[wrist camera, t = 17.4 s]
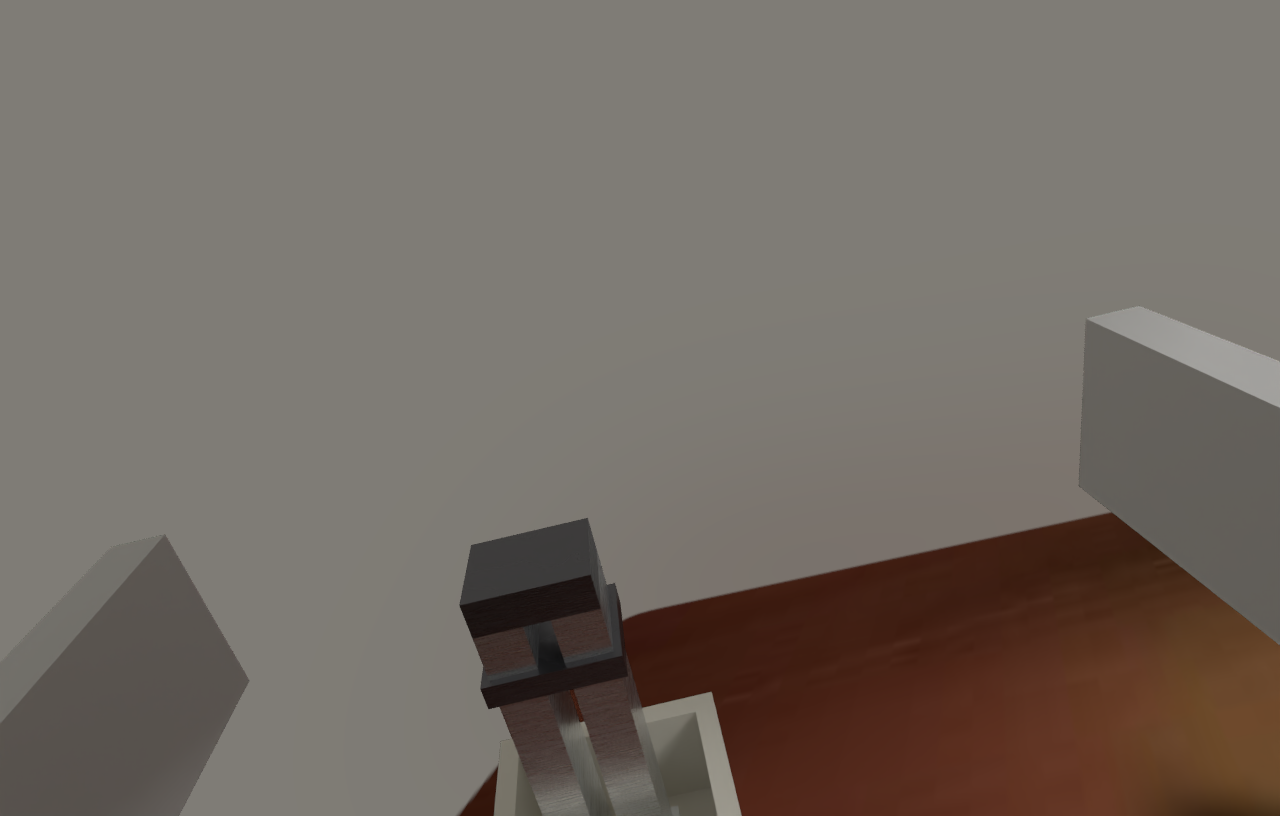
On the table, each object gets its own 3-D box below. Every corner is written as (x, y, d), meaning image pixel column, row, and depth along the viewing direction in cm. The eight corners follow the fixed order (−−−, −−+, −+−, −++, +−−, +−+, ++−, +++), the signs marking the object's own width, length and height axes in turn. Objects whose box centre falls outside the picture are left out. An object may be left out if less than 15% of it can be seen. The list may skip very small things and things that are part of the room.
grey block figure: (685, 831, 37) (594, 508, 29) (701, 932, 33) (600, 583, 25) (584, 855, 37) (465, 538, 29) (587, 958, 33) (448, 618, 25)
